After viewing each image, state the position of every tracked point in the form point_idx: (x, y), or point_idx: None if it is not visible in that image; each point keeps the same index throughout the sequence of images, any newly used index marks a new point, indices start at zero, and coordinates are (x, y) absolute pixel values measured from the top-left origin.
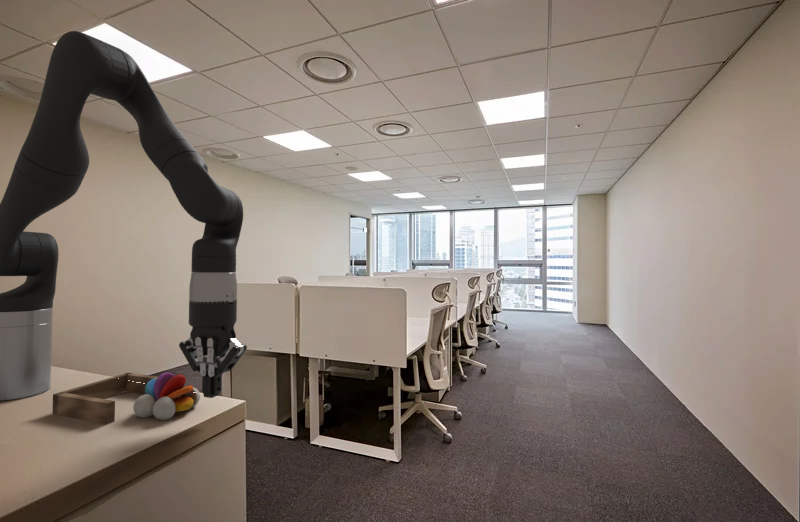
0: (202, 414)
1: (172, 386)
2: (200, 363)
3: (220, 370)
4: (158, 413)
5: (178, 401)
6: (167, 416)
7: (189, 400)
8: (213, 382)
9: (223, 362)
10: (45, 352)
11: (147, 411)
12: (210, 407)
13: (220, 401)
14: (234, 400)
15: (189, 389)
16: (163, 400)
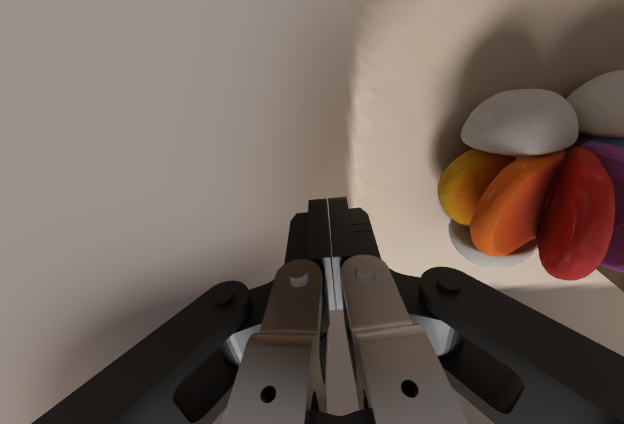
0: (389, 194)
1: (566, 205)
2: (403, 322)
3: (214, 302)
4: (513, 93)
5: (489, 180)
6: (472, 112)
7: (457, 206)
8: (301, 249)
9: (165, 363)
10: None
11: (581, 92)
12: (405, 235)
13: (408, 270)
14: None
15: (472, 226)
16: (535, 126)
